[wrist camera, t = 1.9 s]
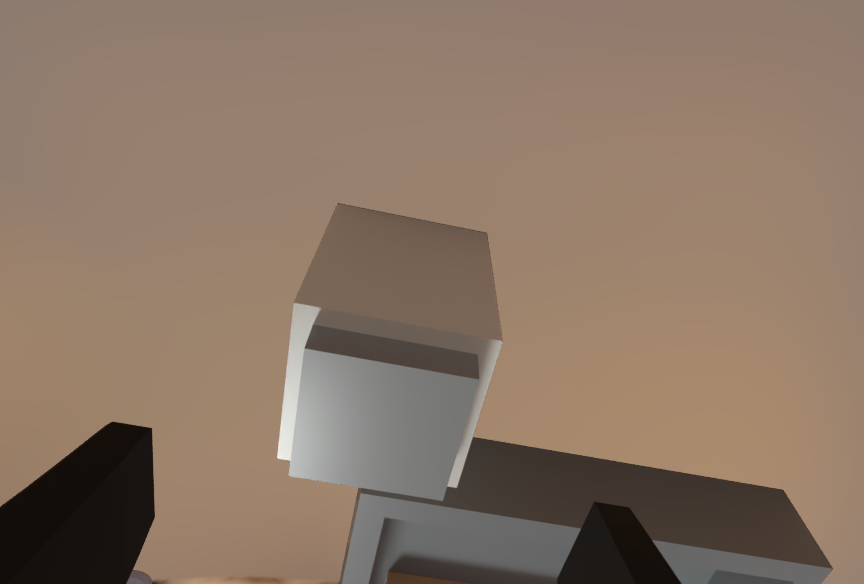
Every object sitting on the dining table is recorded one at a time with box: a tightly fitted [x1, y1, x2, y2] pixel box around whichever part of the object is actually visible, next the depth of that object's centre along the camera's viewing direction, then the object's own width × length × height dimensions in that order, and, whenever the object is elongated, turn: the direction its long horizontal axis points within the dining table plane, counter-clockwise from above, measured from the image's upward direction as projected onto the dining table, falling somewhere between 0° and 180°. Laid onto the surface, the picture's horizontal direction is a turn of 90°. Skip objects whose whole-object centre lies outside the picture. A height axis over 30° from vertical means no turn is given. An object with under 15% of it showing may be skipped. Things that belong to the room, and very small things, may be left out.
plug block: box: [277, 203, 503, 501], centre depth 14 cm, size 4×4×6 cm
